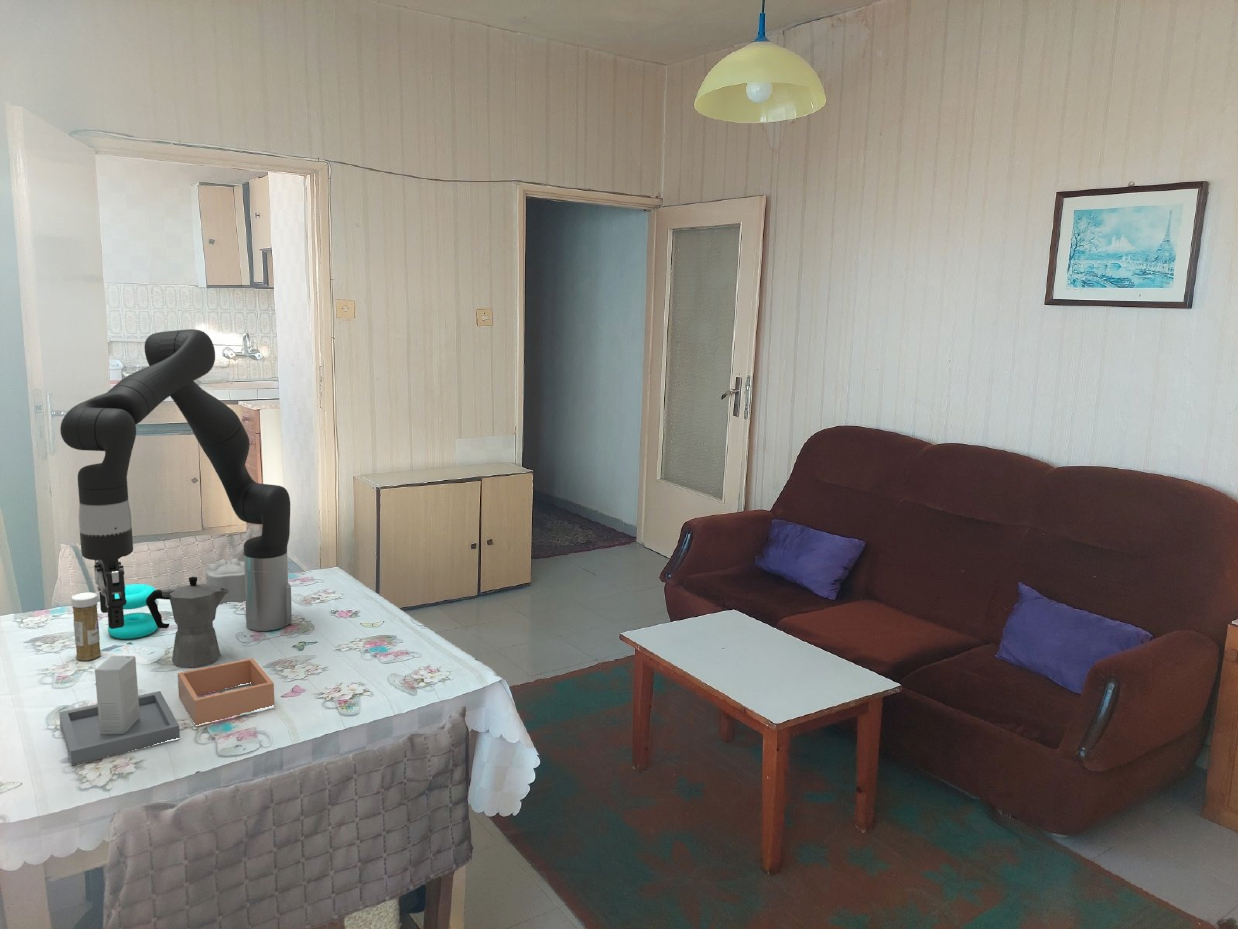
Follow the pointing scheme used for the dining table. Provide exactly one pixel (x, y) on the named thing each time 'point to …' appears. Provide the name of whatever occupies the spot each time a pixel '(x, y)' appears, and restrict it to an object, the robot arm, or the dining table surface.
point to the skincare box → (117, 694)
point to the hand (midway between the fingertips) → (112, 619)
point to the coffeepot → (191, 621)
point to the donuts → (135, 622)
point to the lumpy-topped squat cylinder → (228, 579)
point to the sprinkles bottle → (86, 626)
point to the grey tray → (92, 745)
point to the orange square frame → (227, 701)
